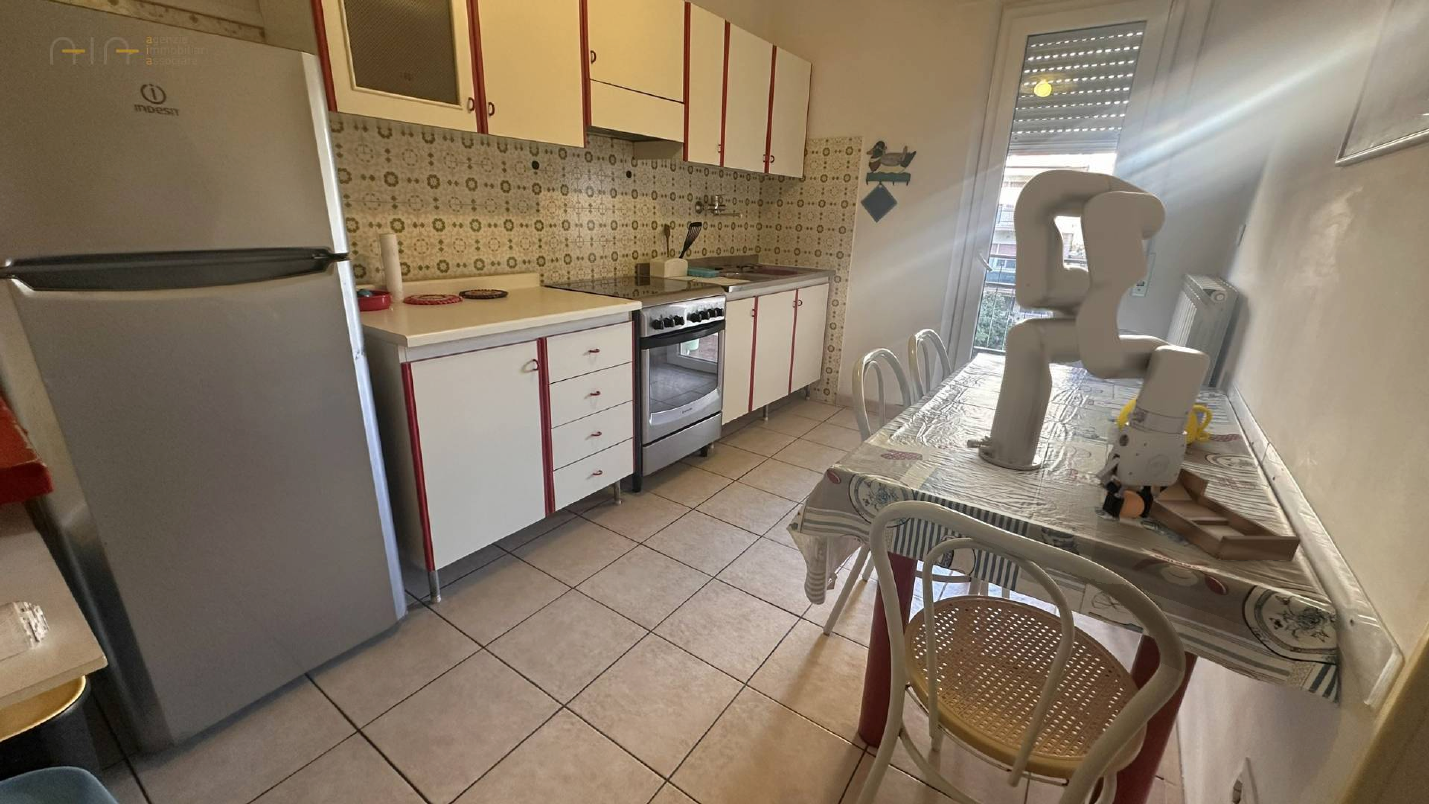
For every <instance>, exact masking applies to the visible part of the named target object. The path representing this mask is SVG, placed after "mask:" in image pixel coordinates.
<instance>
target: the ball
mask: <svg viewBox="0 0 1429 804" xmlns="http://www.w3.org/2000/svg"><path fill="white" fill-rule="evenodd" d="M1122 497H1123V498H1124V503H1123V505H1122V508H1121V511H1120V514H1119V516H1118V517H1122V518H1124V519H1134V518H1137V517H1140V516H1139V515H1140V514H1141V513H1142V512H1143V510H1144V502H1143V500H1142V498H1141V497H1140V496H1139V495H1138V494H1136V493H1134V492H1131V491H1125V493H1124V494H1123V496H1122Z"/></svg>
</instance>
